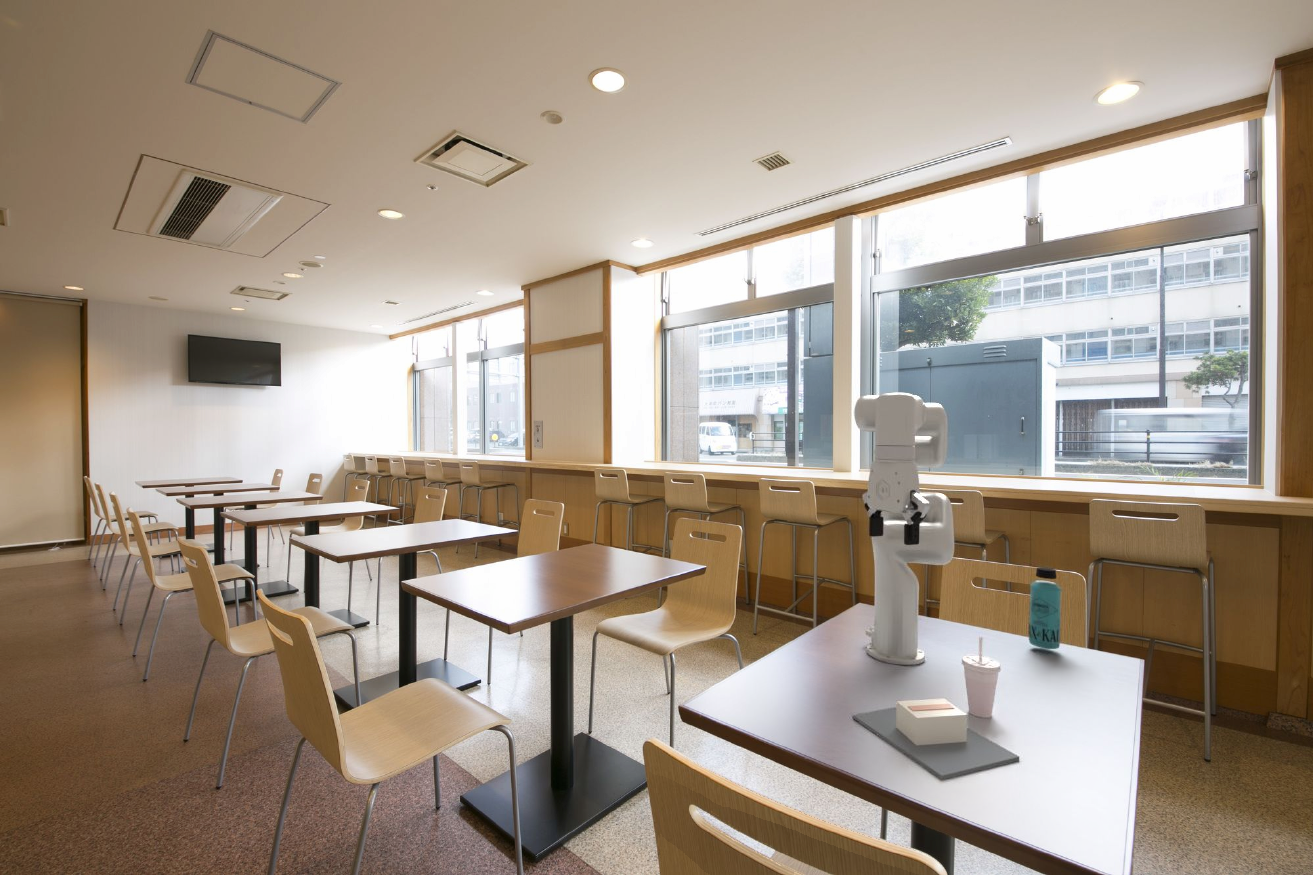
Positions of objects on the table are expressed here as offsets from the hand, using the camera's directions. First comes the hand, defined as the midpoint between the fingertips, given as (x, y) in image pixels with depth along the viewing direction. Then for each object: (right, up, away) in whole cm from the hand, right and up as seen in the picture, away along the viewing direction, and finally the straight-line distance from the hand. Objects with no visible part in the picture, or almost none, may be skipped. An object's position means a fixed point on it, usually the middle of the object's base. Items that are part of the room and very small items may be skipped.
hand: (893, 540), depth 118 cm
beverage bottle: (+46, -31, +24) cm, 61 cm away
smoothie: (+13, -31, -9) cm, 34 cm away
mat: (-1, -30, -18) cm, 35 cm away
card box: (-1, -30, -18) cm, 35 cm away
